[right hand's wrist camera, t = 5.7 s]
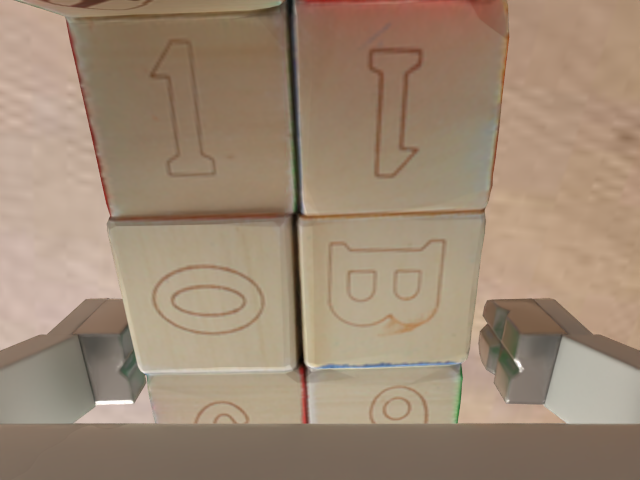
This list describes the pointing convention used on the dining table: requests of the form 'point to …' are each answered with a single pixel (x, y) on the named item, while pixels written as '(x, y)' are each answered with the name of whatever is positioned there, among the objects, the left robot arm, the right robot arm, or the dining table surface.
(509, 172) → the dining table surface
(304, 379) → the stack of blocks
